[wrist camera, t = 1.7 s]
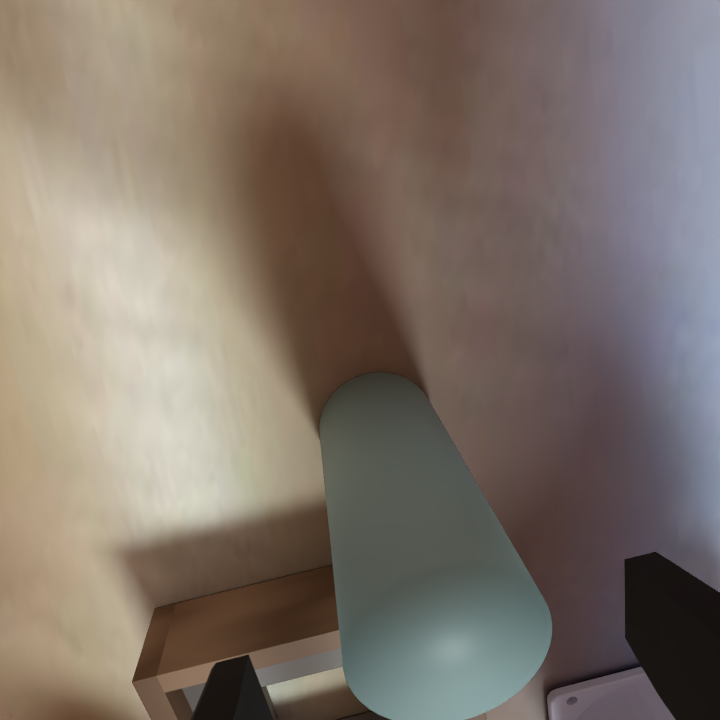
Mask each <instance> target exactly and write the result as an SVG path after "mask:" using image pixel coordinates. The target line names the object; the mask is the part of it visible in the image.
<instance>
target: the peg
mask: <svg viewBox="0 0 720 720" xmlns="http://www.w3.org/2000/svg"><path fill="white" fill-rule="evenodd" d="M319 434H320V444H321V454H322V464H323V474H324V484H325V494H326V504H327V514H328V524H329V534H330V544H331V554H332V564H333V574H334V584H335V594H336V604H337V614H338V624H339V634H340V644H341V654H342V664H343V670H344V675H345V678H346V681H347V683H348V686H349V687H350V689H351V691H352V692H353V694H354V695H355V696H356V697H357V698H358V700H359V701H360V702H361V703H362V704H364V705H365V706H366V707H367V708H369V709H370V710H372V711H373V712H375V713H377V714H378V715H381V716H383V717H385V718H388V719H391V720H465V719H469V718H472V717H475V716H478V715H480V714H482V713H485V712H487V711H489V710H491V709H493V708H495V707H497V706H499V705H500V704H502V703H504V702H505V701H507V700H508V699H510V698H511V697H512V696H514V695H515V694H516V693H517V692H519V691H520V690H521V689H522V688H523V687H524V686H525V685H526V684H527V683H528V682H529V681H530V680H531V679H532V677H533V676H534V675H535V674H536V672H537V671H538V669H539V668H540V666H541V665H542V663H543V661H544V659H545V657H546V655H547V653H548V650H549V647H550V643H551V637H552V619H551V614H550V611H549V608H548V605H547V603H546V601H545V600H544V598H543V596H542V594H541V593H540V591H539V589H538V587H537V586H536V584H535V582H534V581H533V579H532V577H531V575H530V574H529V572H528V570H527V569H526V567H525V565H524V563H523V562H522V560H521V558H520V556H519V555H518V553H517V551H516V550H515V548H514V546H513V544H512V543H511V541H510V539H509V538H508V536H507V534H506V532H505V531H504V529H503V527H502V525H501V524H500V522H499V520H498V519H497V517H496V515H495V513H494V512H493V510H492V508H491V506H490V505H489V503H488V501H487V500H486V498H485V496H484V494H483V493H482V491H481V489H480V488H479V486H478V484H477V482H476V481H475V479H474V477H473V475H472V474H471V472H470V470H469V469H468V467H467V465H466V463H465V462H464V460H463V458H462V457H461V455H460V453H459V451H458V450H457V448H456V446H455V444H454V443H453V441H452V439H451V438H450V436H449V434H448V432H447V431H446V429H445V427H444V426H443V424H442V422H441V420H440V419H439V417H438V415H437V413H436V412H435V410H434V408H433V407H432V405H431V403H430V401H429V400H428V398H427V396H426V395H425V393H424V392H423V391H422V390H421V388H420V387H418V386H417V385H416V384H415V383H414V382H412V381H411V380H409V379H407V378H405V377H403V376H400V375H397V374H393V373H386V372H374V373H368V374H364V375H360V376H357V377H355V378H353V379H351V380H349V381H347V382H346V383H344V384H343V385H341V386H340V387H339V388H338V389H337V390H336V391H335V392H334V393H333V394H332V395H331V396H330V397H329V399H328V400H327V402H326V404H325V405H324V408H323V410H322V413H321V417H320V423H319Z"/></svg>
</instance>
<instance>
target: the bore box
mask: <svg viewBox="0 0 720 720" xmlns="http://www.w3.org/2000/svg"><path fill="white" fill-rule="evenodd" d="M248 654H249V657H250V659H251V662H252V664H253V667H254V670H255V672H256V675H257V677H258V680H259V683H260V685H261V688H262V690H263V693H264V696H265V698H266V701H267V703H268V706H269V709H270V711H271V714H272V716H273V719H274V720H278V717H277V715H276V712H275V709H274V707H273V704H272V702H271V699H270V696H269V694H268V691H267V688H266V686H268V685H272V684H276V683H280V682H283V681H287V680H291V679H295V678H299V677H303V676H307V675H311V674H315V673H319V672H323V671H327V670H331V669H335V668H339V667H342V666H343V664H342V654H341V644H340V634H339V624H338V614H337V604H336V594H335V584H334V574H333V565H331V566H327V567H323V568H319V569H315V570H310V571H306V572H302V573H298V574H294V575H290V576H286V577H282V578H278V579H274V580H270V581H266V582H262V583H258V584H253V585H249V586H245V587H241V588H237V589H233V590H229V591H225V592H221V593H217V594H213V595H209V596H205V597H201V598H196V599H192V600H188V601H184V602H180V603H176V604H172V605H168V606H164V607H160V608H156V609H155V610H154V613H153V616H152V619H151V623H150V626H149V629H148V632H147V635H146V639H145V642H144V645H143V648H142V652H141V655H140V658H139V661H138V664H137V668H136V671H135V674H134V677H133V680H132V683H133V685H134V687H135V689H136V691H137V693H138V695H139V697H140V699H141V701H142V703H143V705H144V707H145V708H146V710H147V712H148V714H149V716H150V718H151V720H191V717H192V715H193V713H194V710H195V708H196V706H197V703H198V701H199V698H200V696H201V694H202V691H203V689H204V686H205V684H206V681H207V679H208V676H209V674H210V671H211V669H212V667H213V666H214V665H215V663H217V662H221V661H225V660H229V659H233V658H237V657H241V656H245V655H248ZM340 720H391V719H388V718H385V717H383V716H381V715H378V714H377V713H375V712H373V711H371V712H367V713H363V714H359V715H356V716H352V717H348V718H344V719H340ZM465 720H486V714H485V713H482V714H480V715H478V716H475V717H472V718H469V719H465Z"/></svg>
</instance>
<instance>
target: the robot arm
mask: <svg viewBox="0 0 720 720" xmlns="http://www.w3.org/2000/svg"><path fill="white" fill-rule="evenodd" d="M625 638H626V640H627V642H628V643H629V645H630V647H631V649H632V650H633V652H634V654H635V656H636V658H637V659H638V661H639V663H640V665H641V667H637V668H634V669H630V670H626V671H622V672H618V673H614V674H611V675H607V676H603V677H599V678H595V679H591V680H588V681H584V682H580V683H576V684H572V685H568V686H564V687H561V688H557V689H554V690H552V691H551V692H550V693H549V694H548V696H547V704H548V715H549V720H720V593H719V592H718V591H716V590H715V589H713V588H711V587H710V586H708V585H707V584H705V583H704V582H702V581H701V580H699V579H697V578H696V577H694V576H693V575H691V574H690V573H688V572H686V571H685V570H683V569H682V568H680V567H679V566H677V565H676V564H674V563H672V562H671V561H669V560H668V559H666V558H665V557H663V556H661V555H660V554H658V553H657V552H653V553H649V554H645V555H641V556H637V557H633V558H629V559H625ZM191 720H274V719H273V716H272V714H271V711H270V709H269V706H268V703H267V701H266V698H265V696H264V693H263V690H262V688H261V685H260V683H259V680H258V677H257V675H256V672H255V670H254V667H253V664H252V662H251V659H250V657H249V654H248V655H245V656H241V657H237V658H233V659H229V660H225V661H221V662H217V663H215V665H214V666H213V667H212V669H211V671H210V674H209V676H208V679H207V681H206V684H205V686H204V689H203V691H202V694H201V696H200V698H199V701H198V703H197V706H196V708H195V710H194V713H193V715H192V717H191Z"/></svg>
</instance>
